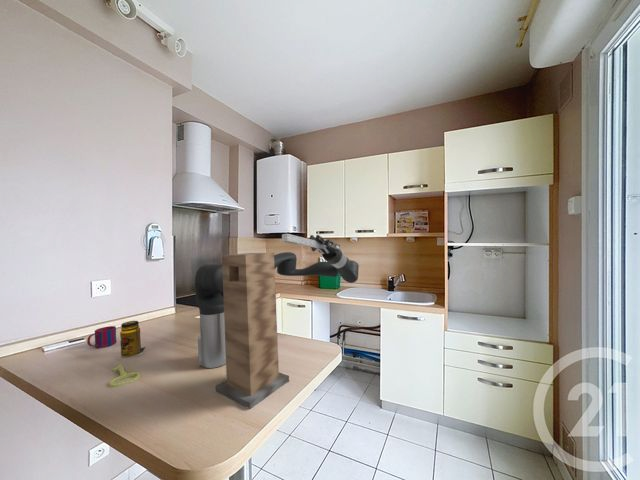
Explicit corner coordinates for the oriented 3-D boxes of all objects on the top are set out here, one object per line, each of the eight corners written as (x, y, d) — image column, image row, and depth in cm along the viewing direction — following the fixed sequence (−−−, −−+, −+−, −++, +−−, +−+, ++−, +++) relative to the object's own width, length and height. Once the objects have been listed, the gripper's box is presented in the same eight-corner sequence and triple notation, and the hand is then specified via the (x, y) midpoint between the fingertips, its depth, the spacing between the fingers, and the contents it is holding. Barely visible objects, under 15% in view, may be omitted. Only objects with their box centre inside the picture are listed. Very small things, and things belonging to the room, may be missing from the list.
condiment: (116, 360, 90) (115, 326, 90) (124, 350, 98) (123, 320, 98) (140, 355, 93) (139, 323, 93) (146, 347, 101) (145, 317, 101)
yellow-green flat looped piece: (121, 370, 83) (121, 363, 83) (143, 378, 77) (142, 371, 77) (94, 381, 76) (94, 374, 76) (115, 391, 71) (115, 383, 71)
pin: (322, 249, 102) (322, 243, 103) (327, 249, 101) (327, 243, 101) (281, 241, 83) (282, 234, 83) (287, 241, 82) (287, 233, 82)
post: (256, 368, 80) (251, 252, 80) (289, 381, 72) (284, 252, 72) (216, 391, 68) (211, 255, 68) (250, 409, 60) (244, 255, 60)
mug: (120, 342, 106) (119, 326, 106) (92, 352, 97) (92, 335, 97) (109, 341, 109) (108, 325, 109) (81, 351, 99) (80, 333, 99)
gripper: (323, 249, 114) (302, 229, 101) (350, 248, 106) (331, 227, 93) (319, 264, 110) (296, 246, 98) (347, 264, 103) (326, 245, 90)
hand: (313, 237), depth 96 cm, fingers closed on pin, 2 cm apart
